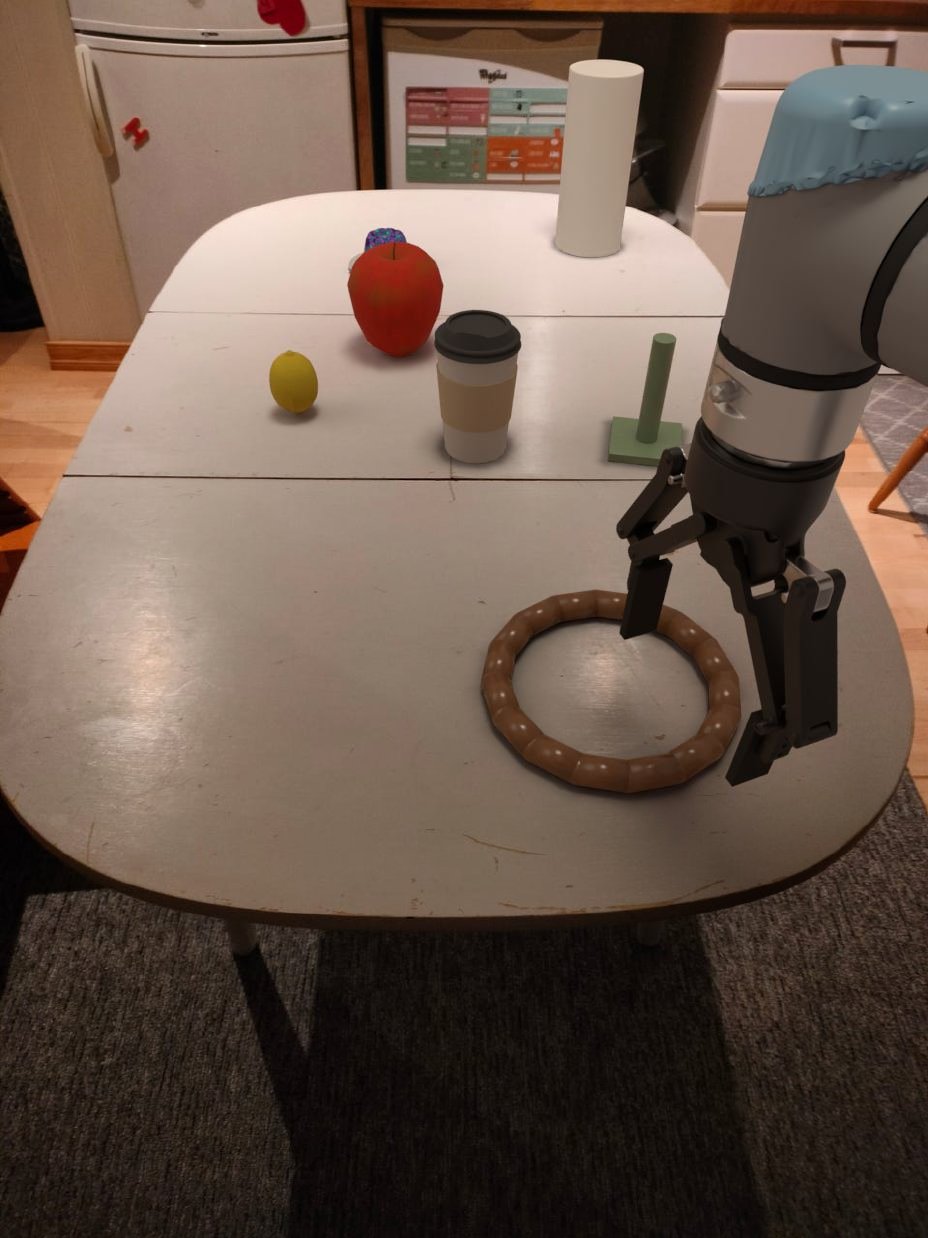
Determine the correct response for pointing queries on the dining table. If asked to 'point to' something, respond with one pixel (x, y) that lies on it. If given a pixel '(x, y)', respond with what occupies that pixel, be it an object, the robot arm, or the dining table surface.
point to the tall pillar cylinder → (597, 155)
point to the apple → (395, 296)
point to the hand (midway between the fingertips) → (687, 698)
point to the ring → (599, 768)
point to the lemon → (293, 382)
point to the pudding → (380, 240)
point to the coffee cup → (476, 382)
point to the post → (648, 414)
